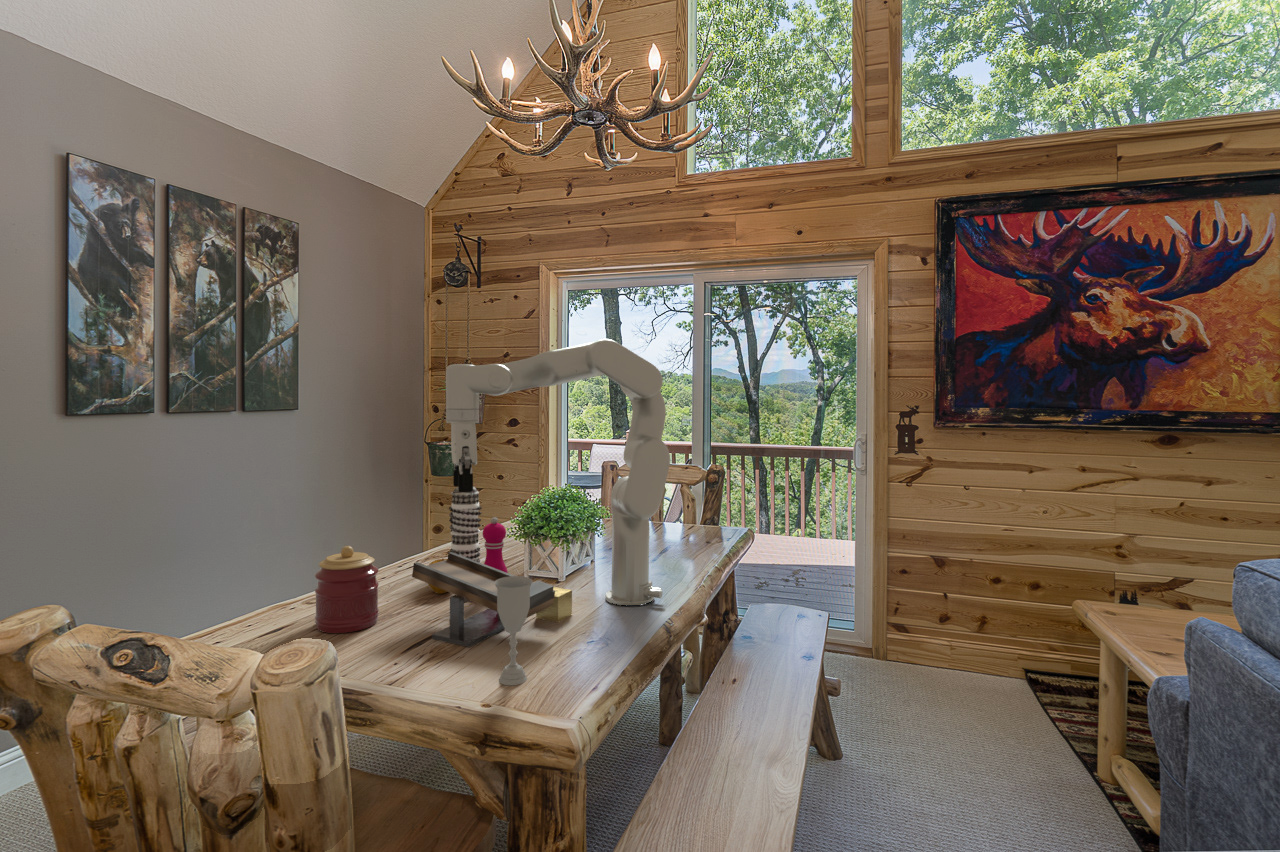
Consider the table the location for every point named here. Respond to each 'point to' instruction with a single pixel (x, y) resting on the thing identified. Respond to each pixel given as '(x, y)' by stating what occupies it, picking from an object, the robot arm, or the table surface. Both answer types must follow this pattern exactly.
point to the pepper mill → (494, 544)
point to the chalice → (513, 620)
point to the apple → (435, 586)
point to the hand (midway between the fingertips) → (462, 488)
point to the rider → (558, 606)
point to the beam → (477, 582)
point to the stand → (468, 625)
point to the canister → (346, 592)
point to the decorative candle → (465, 523)
